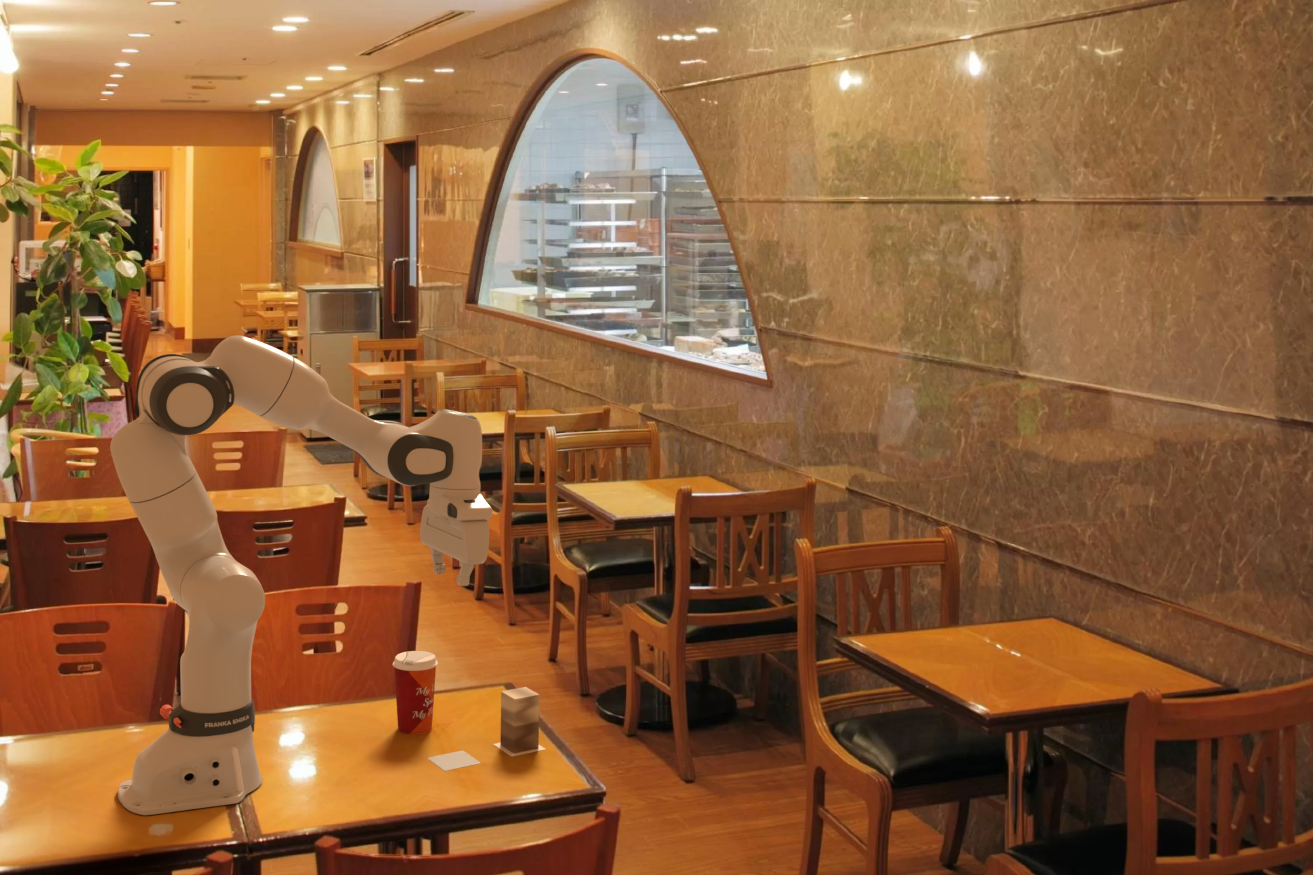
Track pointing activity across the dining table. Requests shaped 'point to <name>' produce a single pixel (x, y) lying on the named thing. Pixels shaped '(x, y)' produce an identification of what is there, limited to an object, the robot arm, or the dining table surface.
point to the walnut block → (519, 736)
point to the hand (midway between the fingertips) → (450, 579)
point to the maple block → (520, 706)
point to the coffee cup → (415, 690)
